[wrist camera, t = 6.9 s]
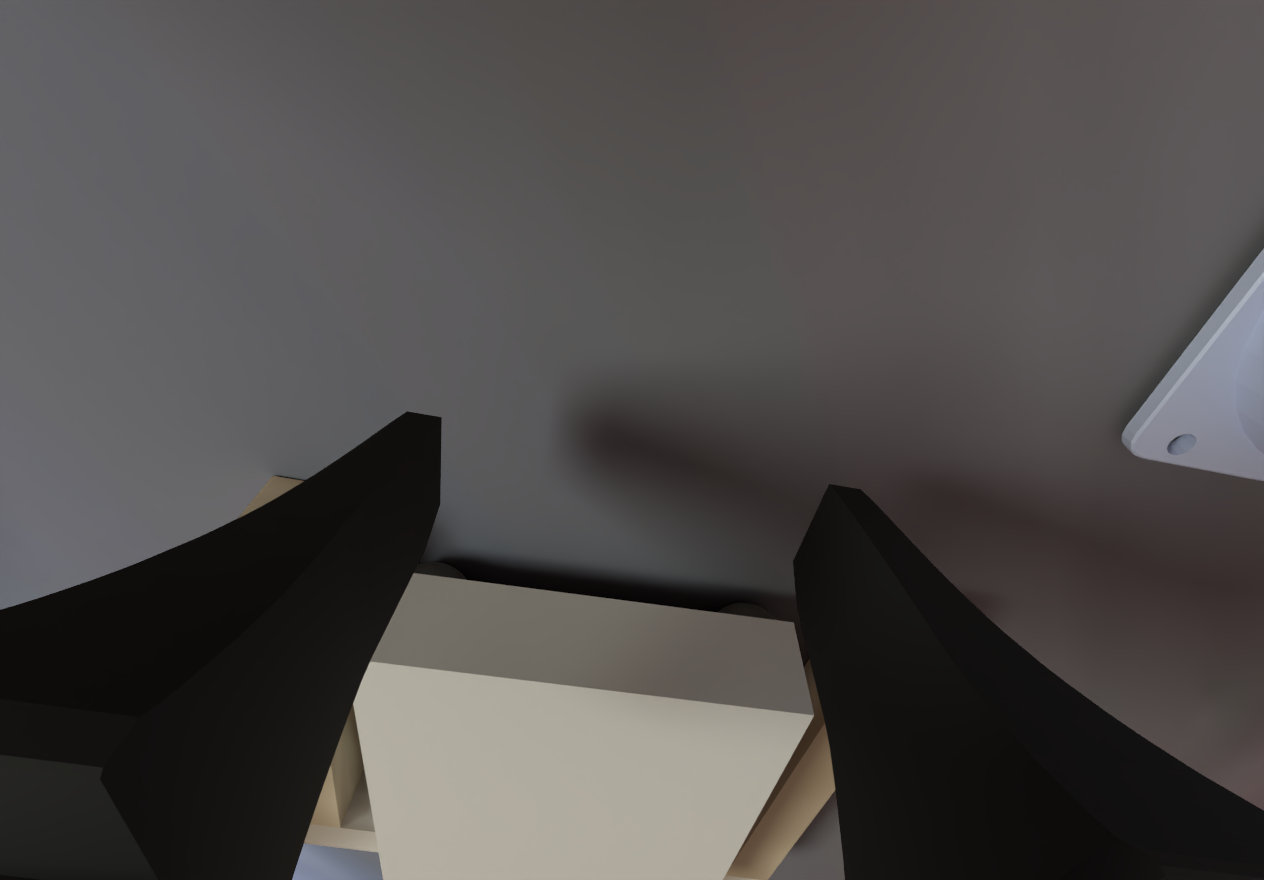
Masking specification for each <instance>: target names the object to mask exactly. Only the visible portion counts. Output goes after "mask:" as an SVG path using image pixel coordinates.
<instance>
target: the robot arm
mask: <svg viewBox="0 0 1264 880" xmlns="http://www.w3.org/2000/svg"><path fill="white" fill-rule="evenodd" d="M1180 435H1181V436H1180ZM1178 436H1180V437H1179V438H1177V439H1176V440H1175V441H1173V442H1171V441H1172V440H1173V439H1174V438H1176V437H1178ZM1122 442H1123V444H1124V445H1125V447H1126V448H1127V449H1128V450H1129V451H1131V452H1132V453H1133V454H1134V455H1135V456H1137V457H1140V458H1143V459H1148V460H1153V461H1158V462H1164V463H1169V464H1174V465H1179V466H1185V467H1190V468H1195V469H1201V470H1206V471H1211V472H1216V473H1222V474H1227V475H1232V476H1238V477H1243V478H1248V479H1253V480H1259V481H1264V249H1263V250H1262V251H1261V253H1260V254H1259V255H1258V256H1257V258H1256V259H1255V260H1254V262H1253V263H1252V264H1251V265H1250V267H1249V268H1248V269H1247V271H1246V272H1245V273H1244V275H1243V276H1242V277H1241V278H1240V280H1239V281H1238V282H1237V284H1236V285H1235V286H1234V287H1233V289H1232V290H1231V291H1230V293H1229V294H1228V295H1227V297H1226V298H1225V299H1224V300H1223V302H1222V303H1221V304H1220V306H1219V307H1218V308H1217V309H1216V311H1215V312H1214V313H1213V315H1212V316H1211V317H1210V319H1209V320H1208V321H1207V322H1206V324H1205V325H1204V326H1203V328H1202V329H1201V330H1200V332H1199V333H1198V334H1197V335H1196V337H1195V338H1194V339H1193V341H1192V342H1191V343H1190V344H1189V346H1188V347H1187V348H1186V350H1185V351H1184V352H1183V354H1182V355H1181V356H1180V357H1179V359H1178V360H1177V361H1176V363H1175V364H1174V365H1173V366H1172V368H1171V369H1170V370H1169V372H1168V373H1167V374H1166V376H1165V377H1164V378H1163V379H1162V381H1161V382H1160V383H1159V385H1158V386H1157V387H1156V388H1155V390H1154V391H1153V392H1152V394H1151V395H1150V396H1149V398H1148V399H1147V400H1146V401H1145V403H1144V404H1143V405H1142V407H1141V408H1140V409H1139V411H1138V412H1137V413H1136V414H1135V416H1134V417H1133V418H1132V420H1131V421H1130V422H1129V423H1128V425H1127V426H1126V428H1125V430H1124V432H1123V433H1122ZM440 478H441V417H436V416H430V415H424V414H419V413H413V412H406V413H404V414H403V415H401V416H400V417H398V418H397V419H395V420H394V421H392V422H391V423H389V424H388V425H387V426H385V427H384V428H382V429H381V430H380V431H378V432H377V433H375V434H374V435H372V436H371V437H370V438H368V439H367V440H365V441H364V442H363V443H361V444H360V445H358V446H357V447H355V448H354V449H353V450H351V451H350V452H348V453H347V454H345V455H344V456H342V457H341V458H339V459H338V460H336V461H335V462H333V463H332V464H330V465H329V466H327V467H326V468H324V469H323V470H321V471H320V472H318V473H317V474H315V475H314V476H312V477H310V478H309V479H307V480H305V481H304V482H302V483H300V484H299V485H297V486H295V487H294V488H292V489H290V490H289V491H287V492H285V493H284V494H282V495H280V496H279V497H277V498H275V499H274V500H272V501H270V502H268V503H267V504H265V505H263V506H261V507H259V508H257V509H255V510H253V511H252V512H250V513H248V514H246V515H244V516H242V517H240V518H238V519H236V520H234V521H232V522H230V523H228V524H226V525H224V526H222V527H220V528H218V529H216V530H213V531H211V532H209V533H207V534H205V535H203V536H201V537H198V538H196V539H194V540H191V541H189V542H187V543H184V544H182V545H179V546H177V547H175V548H172V549H170V550H167V551H165V552H163V553H160V554H158V555H156V556H153V557H151V558H148V559H146V560H144V561H141V562H139V563H136V564H134V565H132V566H129V567H126V568H124V569H121V570H118V571H116V572H113V573H110V574H107V575H105V576H102V577H99V578H96V579H94V580H91V581H88V582H85V583H82V584H80V585H77V586H74V587H71V588H68V589H65V590H62V591H59V592H56V593H53V594H50V595H47V596H44V597H41V598H38V599H35V600H31V601H28V602H25V603H22V604H19V605H16V606H12V607H9V608H5V609H2V610H0V880H292V878H293V874H294V871H295V868H296V865H297V862H298V859H299V856H300V853H301V850H302V847H303V844H304V841H305V838H306V835H307V832H308V829H309V826H310V823H311V820H312V817H313V814H314V811H315V809H316V806H317V803H318V800H319V797H320V794H321V791H322V788H323V785H324V782H325V780H326V777H327V774H328V771H329V768H330V766H331V763H332V760H333V757H334V754H335V752H336V749H337V746H338V743H339V740H340V737H341V735H342V732H343V729H344V727H345V724H346V721H347V719H348V716H349V713H350V711H351V708H352V705H353V703H354V700H355V697H356V695H357V692H358V689H359V687H360V684H361V681H362V679H363V677H364V674H365V672H366V670H367V668H368V665H369V663H370V661H371V659H372V656H373V654H374V652H375V650H376V648H377V646H378V644H379V642H380V640H381V638H382V636H383V634H384V632H385V630H386V628H387V626H388V624H389V622H390V620H391V618H392V616H393V614H394V612H395V610H396V608H397V606H398V604H399V602H400V600H401V598H402V596H403V594H404V592H405V590H406V588H407V586H408V584H409V581H410V579H411V577H412V575H413V573H414V571H415V569H416V567H417V565H418V563H419V561H420V559H421V557H422V555H423V553H424V550H425V547H426V544H427V542H428V539H429V536H430V533H431V530H432V527H433V524H434V521H435V518H436V515H437V512H438V509H439V506H440ZM793 565H794V577H795V589H796V598H797V607H798V613H799V617H800V622H801V626H802V630H803V635H804V639H805V643H806V647H807V652H808V656H809V660H810V664H811V668H812V672H813V676H814V680H815V684H816V688H817V692H818V696H819V700H820V705H821V709H822V713H823V717H824V721H825V726H826V731H827V736H828V741H829V746H830V753H831V761H832V768H833V775H834V783H835V790H836V797H837V806H838V815H839V824H840V833H841V842H842V851H843V861H844V873H845V880H1264V811H1263V810H1262V809H1260V808H1258V807H1256V806H1255V805H1253V804H1251V803H1250V802H1248V801H1246V800H1244V799H1243V798H1241V797H1239V796H1237V795H1236V794H1234V793H1232V792H1231V791H1229V790H1227V789H1225V788H1224V787H1222V786H1220V785H1219V784H1217V783H1215V782H1213V781H1212V780H1210V779H1208V778H1206V777H1205V776H1203V775H1201V774H1200V773H1198V772H1197V771H1195V770H1193V769H1192V768H1190V767H1189V766H1187V765H1185V764H1184V763H1182V762H1181V761H1179V760H1178V759H1176V758H1175V757H1173V756H1171V755H1170V754H1168V753H1167V752H1165V751H1164V750H1162V749H1161V748H1159V747H1157V746H1156V745H1154V744H1153V743H1151V742H1150V741H1148V740H1147V739H1145V738H1143V737H1142V736H1140V735H1139V734H1137V733H1136V732H1135V731H1133V730H1132V729H1130V728H1129V727H1127V726H1126V725H1124V724H1123V723H1121V722H1120V721H1118V720H1117V719H1115V718H1114V717H1113V716H1111V715H1110V714H1108V713H1107V712H1105V711H1104V710H1103V709H1101V708H1100V707H1099V706H1097V705H1096V704H1095V703H1093V702H1092V701H1090V700H1089V699H1088V698H1086V697H1085V696H1084V695H1082V694H1081V693H1079V692H1078V691H1077V690H1075V689H1074V688H1073V687H1071V686H1070V685H1069V684H1067V683H1066V682H1064V681H1063V680H1062V679H1061V678H1059V677H1058V676H1057V675H1055V674H1054V673H1053V672H1052V671H1050V670H1049V669H1048V668H1046V667H1045V666H1044V665H1043V664H1041V663H1040V662H1039V661H1038V660H1037V659H1035V658H1034V657H1033V656H1032V655H1031V654H1029V653H1028V652H1027V651H1026V650H1025V649H1023V648H1022V647H1021V646H1020V645H1019V644H1017V643H1016V642H1015V641H1014V640H1012V639H1011V638H1010V637H1009V636H1008V635H1006V634H1005V633H1004V632H1003V631H1002V630H1001V629H1000V628H999V627H997V626H996V625H995V624H994V623H993V622H992V621H991V620H990V619H988V618H987V617H986V616H985V615H984V614H983V613H982V612H981V611H980V610H979V609H978V608H977V607H976V606H975V605H974V604H973V603H971V602H970V601H969V600H968V599H967V598H966V597H965V596H964V595H963V594H962V593H961V592H960V591H959V590H958V589H957V588H956V587H955V586H954V585H953V584H952V583H951V582H950V581H949V580H948V579H947V578H946V577H945V576H944V575H943V574H942V573H941V572H940V571H939V570H938V569H937V568H936V567H935V566H934V565H933V564H932V563H931V562H930V561H929V560H928V559H927V558H926V557H925V556H924V555H923V554H922V553H921V552H920V550H919V549H918V548H917V547H916V546H915V545H914V544H913V543H912V542H911V541H910V540H909V539H908V538H907V537H906V536H905V535H904V533H903V532H902V531H901V530H900V529H899V528H898V527H897V526H896V525H895V524H894V523H893V522H892V521H891V520H890V519H889V517H888V516H887V515H886V514H885V513H884V512H883V511H882V510H881V509H880V508H879V507H878V506H877V505H876V504H875V503H874V502H873V501H872V500H871V499H870V498H869V497H868V496H867V495H866V494H865V493H864V492H863V491H862V490H860V489H854V488H849V487H843V486H837V485H831V484H829V486H828V488H827V490H826V492H825V494H824V496H823V498H822V501H821V503H820V505H819V507H818V509H817V511H816V513H815V516H814V518H813V520H812V522H811V524H810V526H809V528H808V531H807V533H806V535H805V537H804V539H803V541H802V543H801V546H800V548H799V550H798V552H797V554H796V556H795V558H794V560H793Z"/></svg>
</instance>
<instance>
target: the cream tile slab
mask: <svg viewBox="0 0 1264 880" xmlns="http://www.w3.org/2000/svg"><path fill="white" fill-rule="evenodd" d="M353 706H354V711H355V717H356V723H357V729H358V735H359V741H360V746H361V752H362V758H363V764H364V770H365V775H366V781H367V787H368V793H369V799H370V805H371V810H372V816H373V822H374V828H375V834H376V840H377V845H378V851H379V857H380V863H381V869H382V874H383V880H723V879H724V877H725V875H726V873H727V871H728V870H729V868H730V866H731V864H732V862H733V861H734V859H735V857H736V855H737V853H738V852H739V850H740V848H741V846H742V844H743V843H744V841H745V839H746V837H747V835H748V834H749V832H750V830H751V828H752V826H753V825H754V823H755V821H756V819H757V817H758V816H759V814H760V812H761V810H762V808H763V807H764V805H765V803H766V801H767V799H768V798H769V796H770V794H771V792H772V790H773V789H774V787H775V785H776V783H777V781H778V780H779V778H780V776H781V774H782V772H783V771H784V769H785V767H786V765H787V763H788V762H789V760H790V758H791V756H792V755H793V753H794V751H795V749H796V747H797V746H798V744H799V742H800V740H801V738H802V737H803V735H804V733H805V731H806V729H807V728H808V726H809V724H810V722H811V720H812V719H813V717H814V712H813V708H812V703H811V698H810V694H809V689H808V685H807V680H806V676H805V671H804V667H803V662H802V658H801V653H800V649H799V644H798V640H797V635H796V631H795V626H794V622H786V621H779V620H775V618H774V617H773V616H772V615H771V614H770V613H769V612H768V611H766V610H765V609H763V608H762V607H760V606H757V605H755V604H751V603H735V604H731V605H728V606H726V607H724V608H723V609H721V610H720V611H719V612H709V611H702V610H694V609H686V608H679V607H671V606H663V605H656V604H648V603H640V602H633V601H625V600H617V599H609V598H602V597H594V596H586V595H579V594H571V593H563V592H556V591H548V590H540V589H532V588H525V587H517V586H509V585H502V584H494V583H486V582H479V581H471V580H466V578H465V577H464V576H463V575H462V573H461V572H459V571H458V570H457V569H456V568H454V567H452V566H450V565H447V564H444V563H439V562H428V563H423V564H419V565H417V567H416V569H415V571H414V573H413V575H412V577H411V579H410V581H409V584H408V586H407V588H406V590H405V592H404V594H403V596H402V598H401V600H400V602H399V604H398V606H397V608H396V610H395V612H394V614H393V616H392V618H391V620H390V622H389V624H388V626H387V628H386V630H385V632H384V634H383V636H382V638H381V640H380V642H379V644H378V646H377V648H376V650H375V652H374V654H373V656H372V659H371V661H370V663H369V665H368V668H367V670H366V672H365V674H364V677H363V679H362V681H361V684H360V687H359V689H358V692H357V695H356V697H355V700H354V703H353Z"/></svg>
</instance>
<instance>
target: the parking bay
mask: <svg viewBox="0 0 1264 880" xmlns="http://www.w3.org/2000/svg"><path fill="white" fill-rule="evenodd" d="M302 482H304V481H301V480H295V479H289V478H283V477H277V476H272V477H271V479H270V480H269V481H268V482H267V483H266V485H265V486H264V487H263V488H262V490H261V491H260V492H259V493H258V494H257V496H256V497H255V498H254V499H253V500H252V502H251V503H250V504H249V505H248V507H247V508H246V509H245V510H244V511H243V513H242V514H241V515H240V516H239V518H240V517H242V516H244V515H246V514H248V513H250V512H252V511H253V510H255V509H257V508H259V507H261V506H263V505H265V504H267V503H268V502H270V501H272V500H274V499H275V498H277V497H279V496H280V495H282V494H284V493H285V492H287V491H289V490H290V489H292V488H294V487H295V486H297V485H299V484H300V483H302ZM804 671H805V676H806V680H807V685H808V689H809V694H810V698H811V703H812V708H813V712H814V717H813V719H812V720H811V722H810V724H809V726H808V728H807V729H806V731H805V733H804V735H803V737H802V738H801V740H800V742H799V744H798V746H797V747H796V749H795V751H794V753H793V755H792V756H791V758H790V760H789V762H788V763H787V765H786V767H785V769H784V771H783V772H782V774H781V776H780V778H779V780H778V781H777V783H776V785H775V787H774V789H773V790H772V792H771V794H770V796H769V798H768V799H767V801H766V803H765V805H764V807H763V808H762V810H761V812H760V814H759V816H758V817H757V819H756V821H755V823H754V825H753V826H752V828H751V830H750V832H749V834H748V835H747V837H746V839H745V841H744V843H743V844H742V846H741V848H740V850H739V852H738V853H737V855H736V857H735V859H734V861H733V862H732V864H731V866H730V868H729V870H728V871H727V873H726V875H725V877H724V879H723V880H768V879H769V877H770V876H771V875H772V873H773V872H774V871H775V869H776V868H777V867H778V865H779V864H780V863H781V861H782V860H783V859H784V857H785V856H786V855H787V853H788V852H789V851H790V849H791V848H792V847H793V845H794V844H795V843H796V841H797V840H798V839H799V837H800V836H801V835H802V833H803V832H804V831H805V829H806V828H807V827H808V826H809V824H810V823H811V822H812V820H813V819H814V818H815V816H816V815H817V814H818V812H819V811H820V810H821V808H822V807H823V806H824V804H825V803H826V802H827V800H828V799H829V798H830V796H831V795H832V794H833V792H834V791H835V783H834V775H833V768H832V761H831V753H830V746H829V741H828V736H827V731H826V726H825V721H824V717H823V713H822V709H821V705H820V700H819V696H818V692H817V688H816V684H815V680H814V676H813V672H812V668H811V664H810V660H809V659H808V661H807V663H806V665H805V666H804ZM304 843H306V844H314V845H322V846H330V847H339V848H347V849H355V850H363V851H372V852H379V851H378V845H377V840H376V834H375V828H374V822H373V816H372V810H371V805H370V799H369V793H368V787H367V781H366V775H365V770H364V764H363V758H362V752H361V746H360V741H359V735H358V729H357V723H356V717H355V711H354V706H353V705H352V708H351V711H350V713H349V716H348V719H347V721H346V724H345V727H344V729H343V732H342V735H341V737H340V740H339V743H338V746H337V749H336V752H335V754H334V757H333V760H332V763H331V766H330V768H329V771H328V774H327V777H326V780H325V782H324V785H323V788H322V791H321V794H320V797H319V800H318V803H317V806H316V809H315V811H314V814H313V817H312V820H311V823H310V826H309V829H308V832H307V835H306V838H305V841H304Z"/></svg>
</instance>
